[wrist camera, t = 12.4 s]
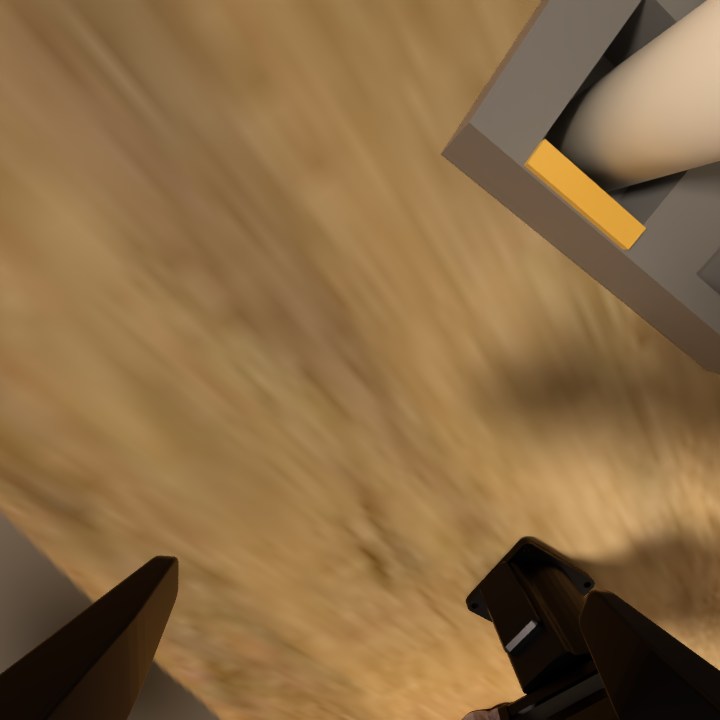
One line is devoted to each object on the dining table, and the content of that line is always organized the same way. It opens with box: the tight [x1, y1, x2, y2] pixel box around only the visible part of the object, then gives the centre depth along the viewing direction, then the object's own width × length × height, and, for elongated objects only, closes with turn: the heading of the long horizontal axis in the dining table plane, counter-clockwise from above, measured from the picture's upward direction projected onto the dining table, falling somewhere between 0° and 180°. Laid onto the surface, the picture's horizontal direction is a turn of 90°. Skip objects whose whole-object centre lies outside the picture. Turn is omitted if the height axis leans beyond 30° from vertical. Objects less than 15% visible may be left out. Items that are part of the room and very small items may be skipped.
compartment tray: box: [441, 0, 720, 374], centre depth 16 cm, size 20×8×4 cm, turn 56°
